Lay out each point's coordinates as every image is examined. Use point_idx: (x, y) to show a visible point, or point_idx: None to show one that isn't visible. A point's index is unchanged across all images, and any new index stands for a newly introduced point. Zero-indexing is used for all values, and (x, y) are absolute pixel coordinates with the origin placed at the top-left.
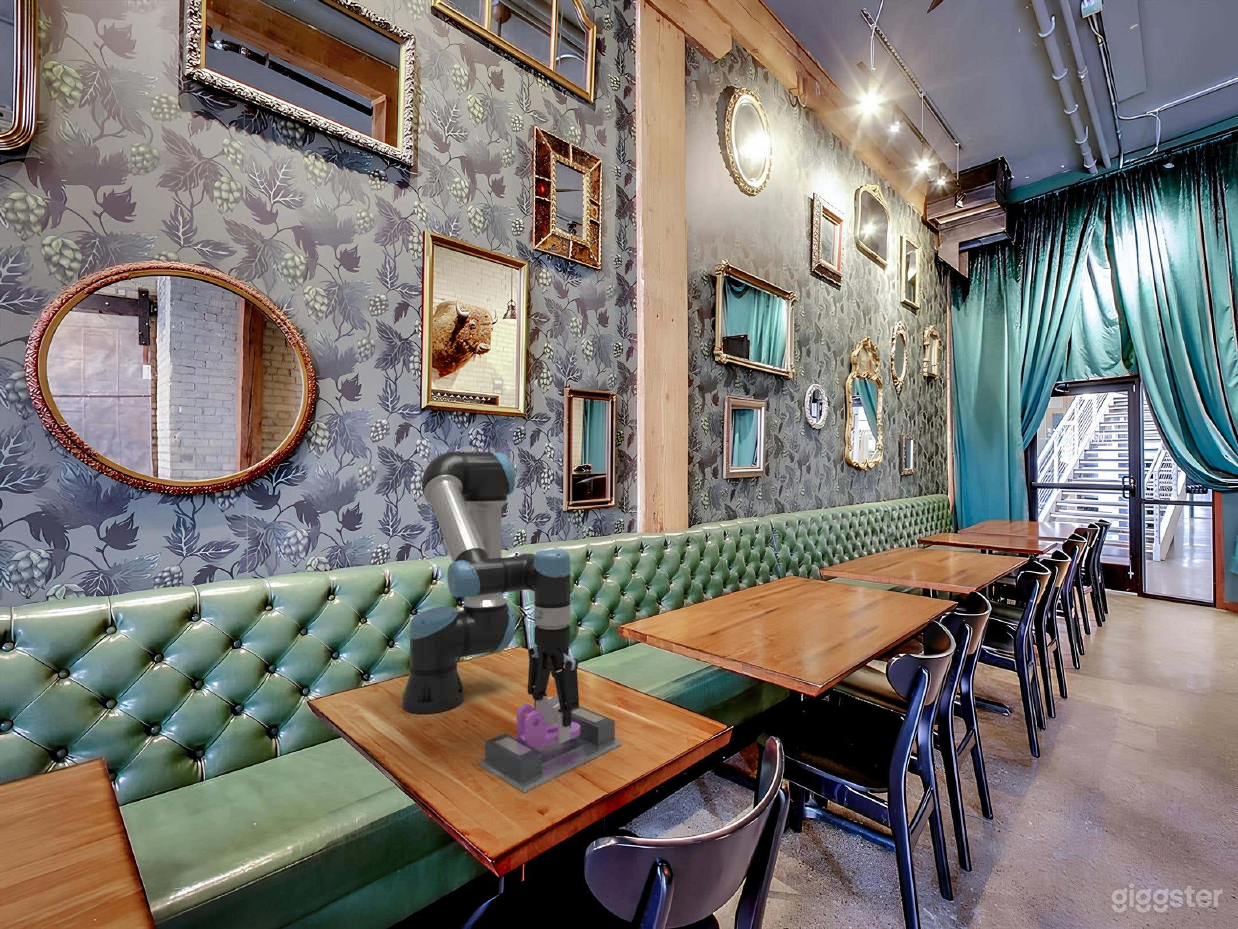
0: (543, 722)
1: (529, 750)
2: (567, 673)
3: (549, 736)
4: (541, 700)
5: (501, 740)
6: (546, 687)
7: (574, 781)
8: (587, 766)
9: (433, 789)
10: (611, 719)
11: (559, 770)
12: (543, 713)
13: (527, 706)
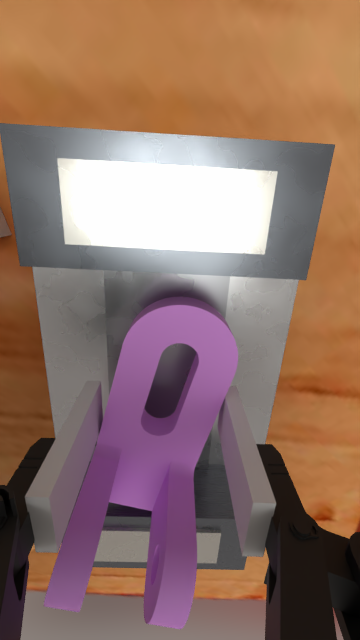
0: (194, 539)
1: (218, 538)
2: None
3: (190, 452)
4: (51, 531)
5: (99, 550)
6: (3, 601)
7: (312, 418)
8: (296, 349)
9: (96, 577)
10: (310, 146)
11: (266, 433)
12: (80, 453)
13: (79, 608)
